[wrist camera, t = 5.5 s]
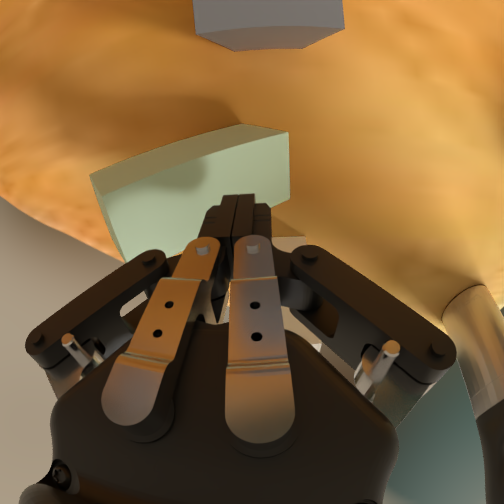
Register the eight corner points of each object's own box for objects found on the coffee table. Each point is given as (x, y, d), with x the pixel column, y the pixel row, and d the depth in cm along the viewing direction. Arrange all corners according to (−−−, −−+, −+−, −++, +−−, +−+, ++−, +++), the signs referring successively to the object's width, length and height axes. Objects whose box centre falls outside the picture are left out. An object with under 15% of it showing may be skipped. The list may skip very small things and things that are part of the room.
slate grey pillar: (297, -8, 13) (329, -75, 4) (302, 48, 16) (344, 28, 7) (228, -5, 13) (187, -69, 4) (234, 51, 16) (195, 34, 7)
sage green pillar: (288, 132, 17) (101, 196, 11) (290, 198, 20) (133, 276, 14) (242, 123, 20) (89, 175, 15) (247, 180, 23) (112, 239, 18)
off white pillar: (305, 236, 26) (321, 343, 17) (303, 274, 29) (313, 376, 20) (253, 237, 27) (244, 345, 17) (256, 276, 30) (250, 378, 20)
